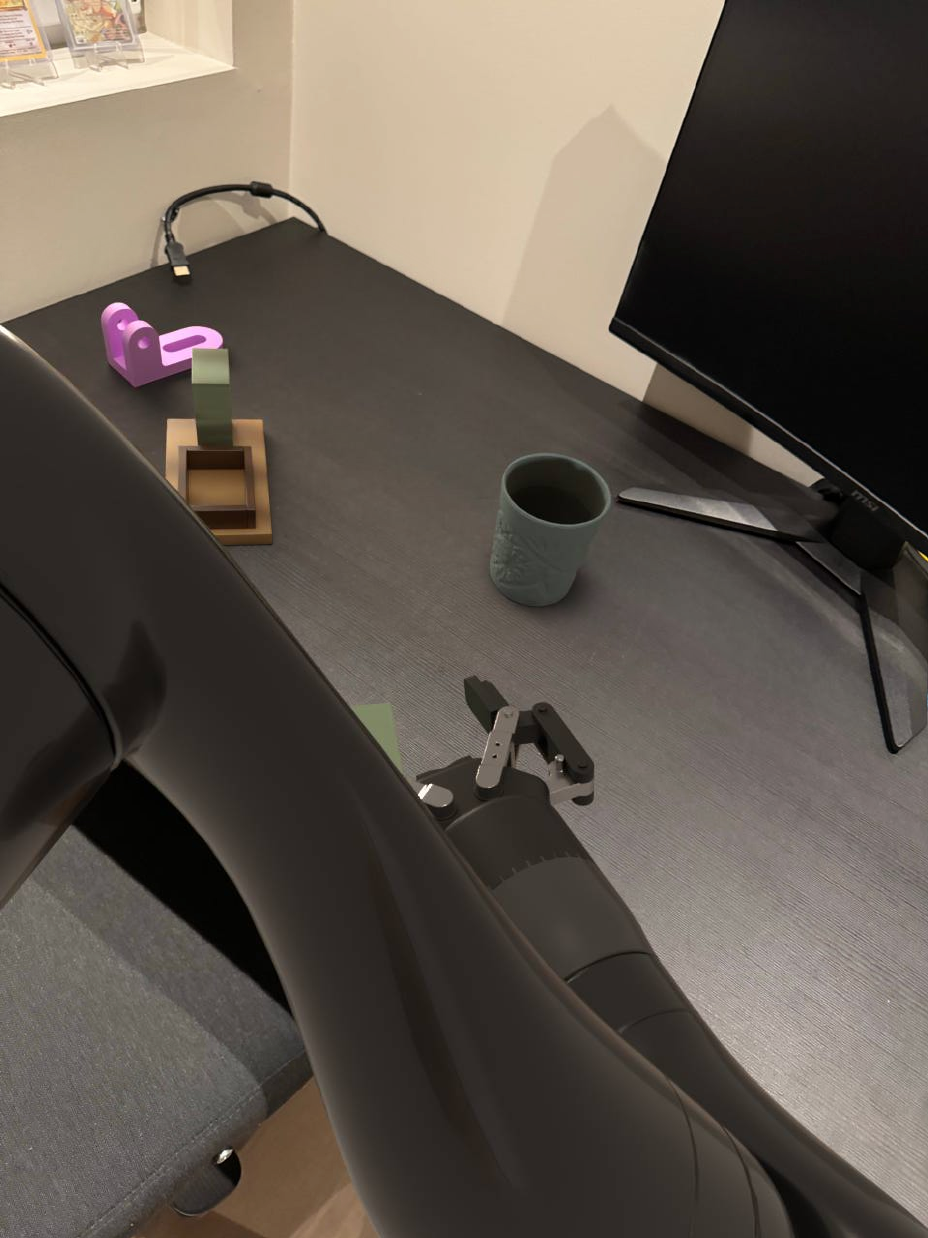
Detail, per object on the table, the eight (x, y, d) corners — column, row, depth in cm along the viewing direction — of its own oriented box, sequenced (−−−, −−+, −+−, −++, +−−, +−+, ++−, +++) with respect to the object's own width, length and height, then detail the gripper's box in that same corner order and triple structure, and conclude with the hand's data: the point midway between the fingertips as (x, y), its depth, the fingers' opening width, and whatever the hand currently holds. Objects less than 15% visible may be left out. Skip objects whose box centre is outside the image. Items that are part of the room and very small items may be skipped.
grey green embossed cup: (586, 561, 89) (620, 472, 80) (565, 627, 82) (599, 539, 73) (495, 530, 90) (519, 439, 81) (467, 594, 83) (489, 502, 74)
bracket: (134, 387, 95) (126, 332, 90) (108, 362, 97) (98, 307, 92) (232, 354, 102) (229, 300, 97) (205, 331, 104) (201, 278, 99)
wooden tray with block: (272, 544, 83) (271, 460, 75) (165, 547, 81) (152, 461, 73) (262, 430, 94) (260, 346, 86) (168, 429, 92) (157, 343, 84)
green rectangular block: (391, 832, 65) (403, 773, 59) (346, 837, 64) (353, 778, 58) (380, 765, 69) (391, 702, 62) (337, 769, 68) (343, 706, 61)
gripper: (676, 808, 37) (508, 622, 49) (372, 942, 33) (271, 703, 45) (666, 912, 41) (513, 718, 54) (397, 1043, 37) (298, 799, 49)
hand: (403, 711), depth 49 cm, fingers open, 8 cm apart
